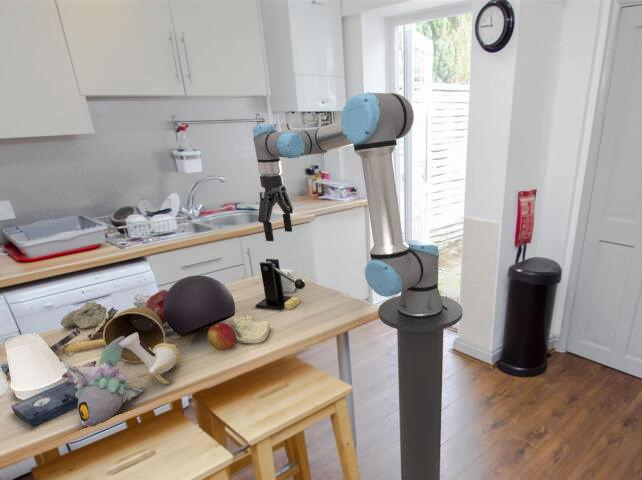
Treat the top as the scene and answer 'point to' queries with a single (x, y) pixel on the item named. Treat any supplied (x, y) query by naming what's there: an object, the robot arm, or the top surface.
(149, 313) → the plant pot
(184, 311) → the dark purple dome
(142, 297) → the skull
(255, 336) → the lumpy plaster cast
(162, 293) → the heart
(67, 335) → the toy
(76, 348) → the novelty tool
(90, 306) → the fossil
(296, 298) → the butter
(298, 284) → the slicer arm
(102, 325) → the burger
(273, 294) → the black lever stand
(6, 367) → the wristwatch
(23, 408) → the vhs cassette tape
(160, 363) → the toy gun
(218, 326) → the apple
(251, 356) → the top surface
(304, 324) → the top surface
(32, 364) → the cup
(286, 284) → the white cardboard box
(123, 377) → the toy
